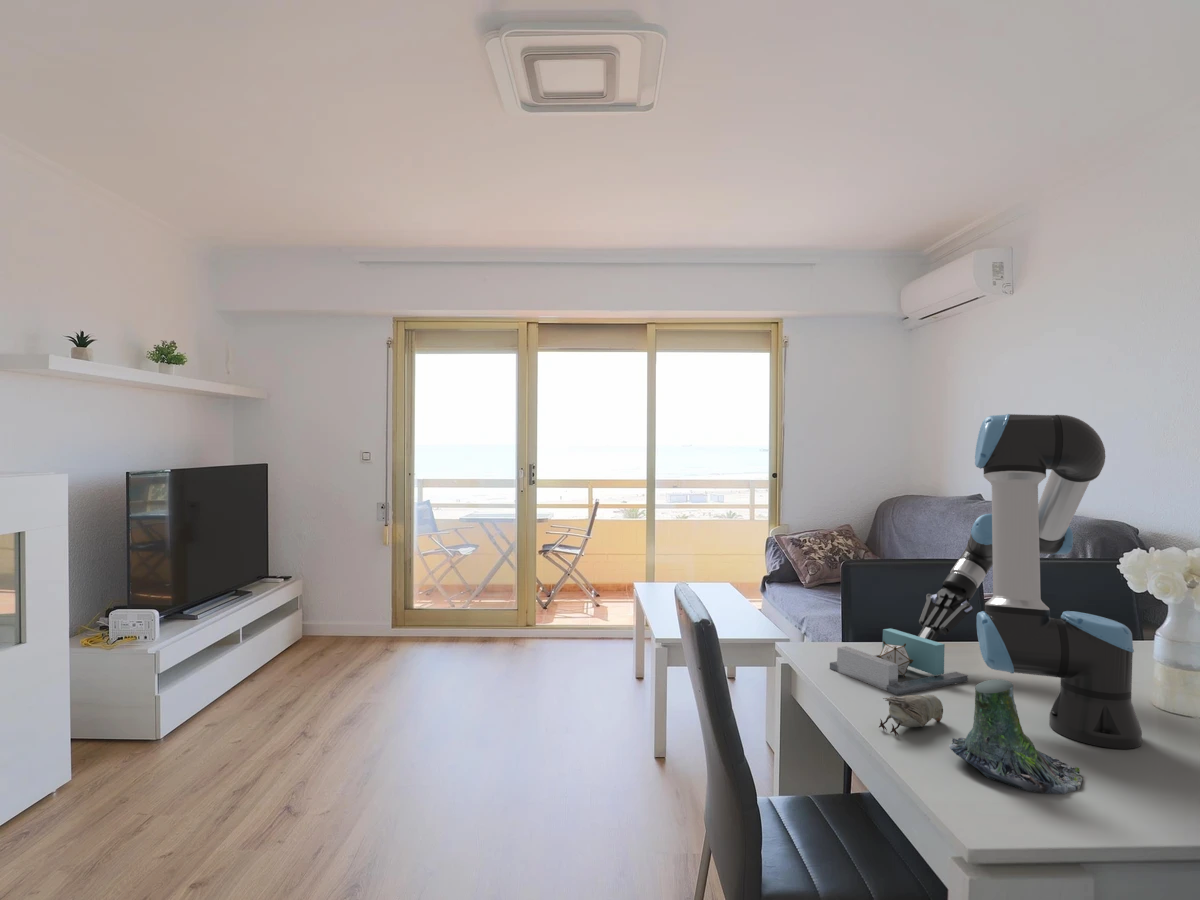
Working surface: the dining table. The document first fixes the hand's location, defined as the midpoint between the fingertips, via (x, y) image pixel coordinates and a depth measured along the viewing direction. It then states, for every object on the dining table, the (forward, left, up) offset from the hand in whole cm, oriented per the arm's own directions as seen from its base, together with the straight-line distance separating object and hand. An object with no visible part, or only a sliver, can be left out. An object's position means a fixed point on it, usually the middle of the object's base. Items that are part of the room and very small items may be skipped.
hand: (918, 650), depth 180 cm
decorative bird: (-26, +32, -5) cm, 42 cm away
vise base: (-1, +9, -5) cm, 10 cm away
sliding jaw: (-1, +3, -3) cm, 4 cm away
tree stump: (-46, +32, -5) cm, 56 cm away
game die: (-1, +9, -5) cm, 10 cm away
